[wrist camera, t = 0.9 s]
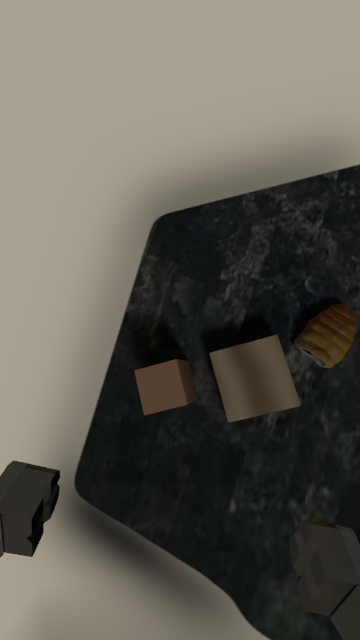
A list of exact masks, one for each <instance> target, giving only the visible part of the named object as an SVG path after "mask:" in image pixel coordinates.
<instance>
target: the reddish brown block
mask: <svg viewBox="0 0 360 640" xmlns="http://www.w3.org/2000/svg"><path fill="white" fill-rule="evenodd" d="M135 375H136V380H137V385H138V389H139V394H140V398H141V403H142V407H143V412H144V415H148V414H152V413H156V412H160V411H164V410H168V409H172V408H176V407H180V406H184V405H188V404H189V403H191V402H192V401H194V400H196V399H197V398H198V397H197V393H196V389H195V385H194V381H193V377H192V373H191V370H190V366H189V362H188V361H185V360H179V359H175V360H171V361H168V362H164V363H160V364H157V365H153V366H149V367H146V368H142V369H138V370H135Z"/></svg>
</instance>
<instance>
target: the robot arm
mask: <svg viewBox="0 0 360 640" xmlns="http://www.w3.org/2000/svg"><path fill="white" fill-rule="evenodd" d="M59 478H60V471H59V470H55V469H50V468H46V467H41V466H36V465H31V464H28V463H23V462H18V461H12V462H11V463H10V464H9V465H8V466H7V467H6V469H5V470H4V472H3V473H2V475H1V476H0V557H1V556H2V555H3V554H4V552H6V553H12V554H18V555H24V556H30V557H32V556H33V554H34V552H35V550H36V548H37V546H38V544H39V541H40V539H41V537H42V535H43V524H44V523H45V522H46V521H47V520H49V519H50V518H51V515H52V513H53V511H54V509H55V506H56V503H57V500H58V495H59V485H58V484H57V482H58V480H59ZM299 527H300V530H301V531H299V532H296V533H294V535H293V537H292V539H291V545H290V554H291V561H292V565H293V567H294V569H295V570H296V572H297V573H298V574H299V578H298V581H297V587H298V591H299V595H300V599H301V604H302V608H303V610H305V611H309V612H313V613H318V614H322V615H327V616H331V618H330V619H331V620H332V622H333V623H334V625H335V627H336V628H337V630H338V632H339V633H340V635H341V636H342V638H343V640H360V544H359V542H358V539H357V537H356V535H355V533H354V532H353V530H352V529H350V528H347V527H342V526H336V525H333V524H328V523H323V522H317V521H312V520H306V519H305V520H302V521H301V523H300V525H299Z"/></svg>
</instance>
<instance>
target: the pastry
mask: <svg viewBox="0 0 360 640" xmlns="http://www.w3.org/2000/svg"><path fill="white" fill-rule="evenodd" d="M357 323H358V320H357V316H356V314H355V312H354V311H353V310H351V309H350V308H349V307H348V306H347V305H346V304H336V305H332V306H331V307H329V308H328V309H326V310H324V311H322V312H320V313H319V314H318V315H317V316H316V317H315V318H313V319H311V320H309V321H308V324H307V326H306V327H305V328H304V330H303V331H302V332H301V333H300V335H299V336H298V337H297V338H296V339H295V340H294V345H295V346H296V347H297V348H298V349H299V350H300V351H301V352H302V353H303V354H305V355H307V356H309V357H311V358H312V359H313V360H314V362H315V363H316V364H318V365H320V366H321V367H324V368H331V367H333V366H334V365H335V364H336V363H338V362H340V361H341V360H342V359H343V357H344V356H345V354H346V353H347V351H348V350H349V348H350V347H351V344H352V342H353V340H354V335H355V329H356V325H357Z"/></svg>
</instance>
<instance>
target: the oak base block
mask: <svg viewBox="0 0 360 640" xmlns="http://www.w3.org/2000/svg"><path fill="white" fill-rule="evenodd" d="M209 354H210V358H211V361H212V365H213V368H214V372H215V376H216V379H217V383H218V387H219V390H220V394H221V398H222V401H223V405H224V408H225V412H226V416H227V419H228V423H229V422H233V421H237V420H242V419H246V418H250V417H254V416H259V415H263V414H267V413H271V412H276V411H280V410H284V409H289V408H293V407H297V406H301V405H300V402H299V399H298V396H297V393H296V390H295V387H294V384H293V381H292V378H291V374H290V371H289V368H288V365H287V362H286V359H285V356H284V353H283V350H282V347H281V344H280V341H279V338H278V335H274V336H270V337H266V338H263V339H259V340H255V341H252V342H248V343H244V344H241V345H237V346H233V347H230V348H226V349H223V350H219V351H215V352H212V353H209Z"/></svg>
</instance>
